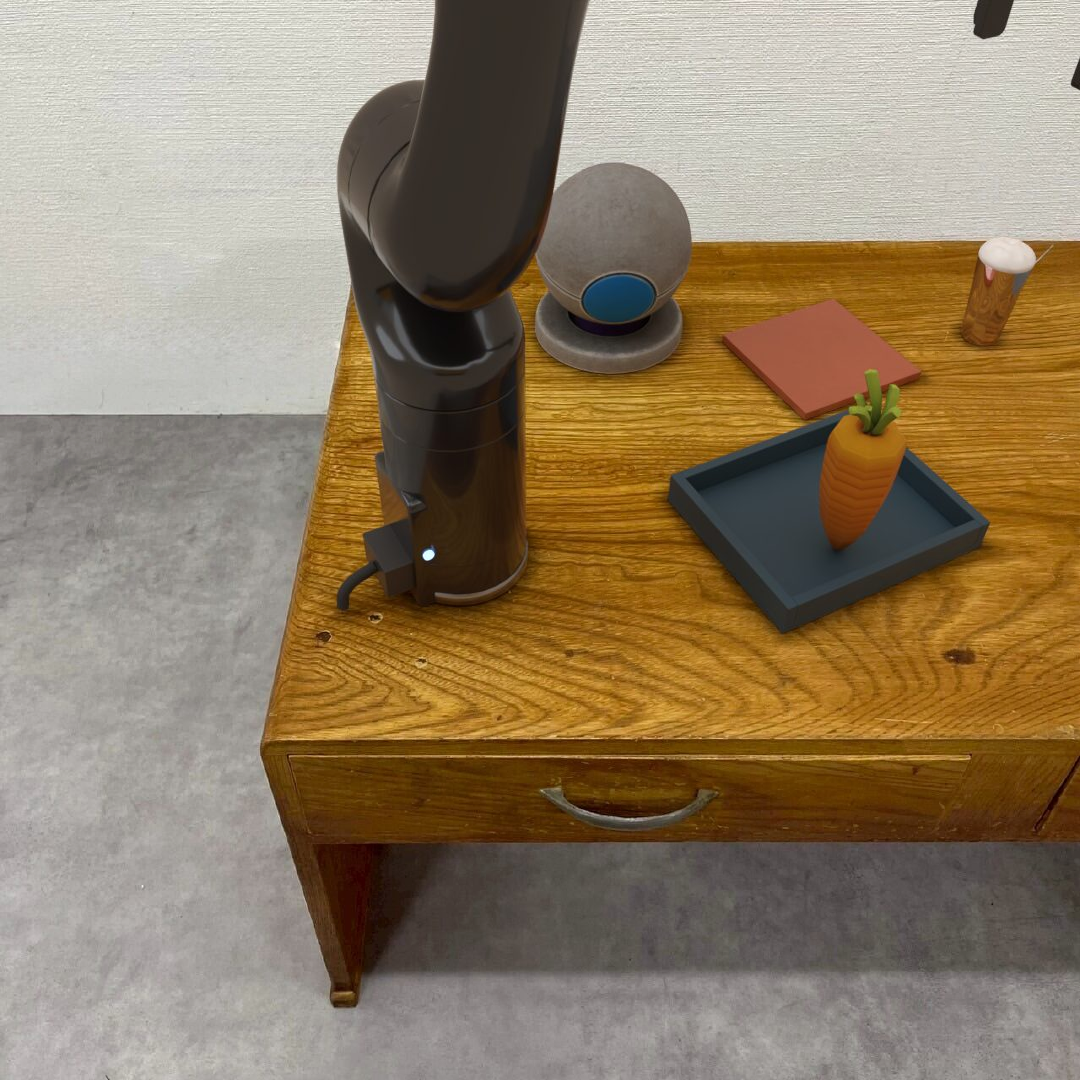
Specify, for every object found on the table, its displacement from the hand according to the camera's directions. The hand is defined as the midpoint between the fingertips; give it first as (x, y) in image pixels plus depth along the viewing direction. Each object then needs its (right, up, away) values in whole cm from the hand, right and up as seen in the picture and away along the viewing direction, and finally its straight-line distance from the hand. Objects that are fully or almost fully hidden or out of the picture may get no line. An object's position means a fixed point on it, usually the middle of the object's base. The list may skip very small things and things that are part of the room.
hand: (1034, 60), depth 72 cm
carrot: (-11, -32, +8) cm, 34 cm away
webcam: (-26, -12, +27) cm, 40 cm away
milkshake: (+7, -13, +27) cm, 31 cm away
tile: (-8, -15, +24) cm, 30 cm away
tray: (-11, -30, +11) cm, 33 cm away
